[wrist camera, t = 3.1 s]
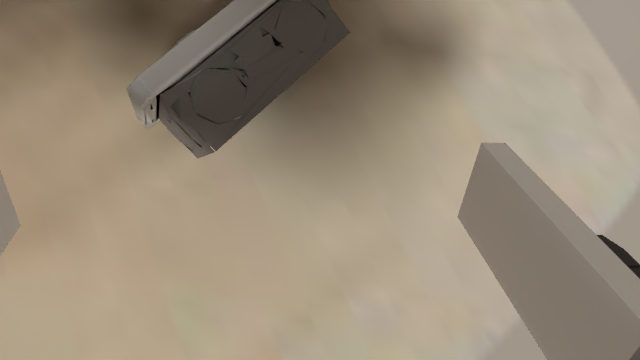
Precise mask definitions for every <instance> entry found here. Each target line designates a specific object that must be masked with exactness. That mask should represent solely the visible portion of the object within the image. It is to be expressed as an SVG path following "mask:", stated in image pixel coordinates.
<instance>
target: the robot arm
mask: <svg viewBox="0 0 640 360" xmlns="http://www.w3.org/2000/svg"><path fill="white" fill-rule="evenodd" d="M458 218H459V220H460V221H461V223H462V224H463V226H464V228H465V229H466V231H467V232H468V234H469V236H470V237H471V239H472V240H473V242H474V244H475V245H476V247H477V248H478V250H479V252H480V253H481V255H482V256H483V258H484V260H485V261H486V263H487V264H488V266H489V267H490V269H491V271H492V272H493V274H494V275H495V277H496V279H497V280H498V282H499V283H500V285H501V287H502V288H503V290H504V291H505V293H506V295H507V296H508V298H509V299H510V301H511V303H512V304H513V306H514V307H515V309H516V310H517V312H518V314H519V315H520V317H521V318H522V320H523V322H524V323H525V325H526V326H527V328H528V330H529V331H530V333H531V334H532V336H533V338H534V339H535V341H536V342H537V344H538V346H539V347H540V349H541V350H542V352H543V353H544V355H545V357H546V358H547V360H640V265H639V263H637V261H635V260H634V259H633V258H632V257H631V256H630V255H629V254H628V253H627V252H626V251H625V250H624V249H623V248H621V247H620V246H618V245H617V244H615V243H614V242H612V241H610V240H609V239H607V238H606V237H604V236H603V235H596V234H595V233H594V232H593V231H592V230H591V229H590V228H589V227H588V226H587V225H586V224H585V223H584V222H583V221H582V220H581V219H580V218H579V217H578V216H577V215H576V214H575V213H574V212H573V211H572V210H571V209H570V208H569V207H568V206H567V205H566V204H565V203H564V202H563V201H562V200H561V199H560V198H559V197H558V196H557V195H556V194H555V193H554V192H553V191H552V190H551V189H550V188H549V187H548V186H547V185H546V184H545V183H544V182H543V181H542V180H541V179H540V178H539V177H538V176H537V175H536V174H535V173H534V172H533V171H532V170H531V169H530V168H529V167H528V166H527V165H526V164H525V163H524V162H523V161H522V159H521V158H520V157H519V156H518V155H517V154H516V153H515V152H514V151H513V150H512V149H511V148H510V147H509V146H508V145H507V144H506V143H481V145H480V148H479V152H478V155H477V158H476V161H475V164H474V167H473V170H472V173H471V176H470V180H469V183H468V186H467V189H466V192H465V195H464V198H463V201H462V204H461V207H460V211H459V214H458ZM19 227H20V222H19V220H18V217H17V214H16V212H15V209H14V206H13V204H12V201H11V198H10V195H9V193H8V190H7V187H6V185H5V182H4V179H3V177H2V174H1V171H0V255H1V254H2V252H3V251H4V249H5V248H6V246H7V245H8V243H9V242H10V240H11V239H12V237H13V236H14V234H15V233H16V231H17V230H18V228H19Z"/></svg>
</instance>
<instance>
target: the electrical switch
mask: <svg viewBox="0 0 640 360" xmlns="http://www.w3.org/2000/svg"><path fill="white" fill-rule="evenodd" d="M348 33H350V32H349V31H348V29H347V28H346V27H345V25H344V24H343V23H342V22H341V20H340V19H339V18H338V16H337V15H336V14H335V12H334V11H333V10H332V8H331V6H330V4H329V2H328V0H234V1H233V2H231V3H230V4H229V5H228V6H226V7H225V8H224V9H222V10H221V11H220V12H219V13H217V14H216V15H215V16H214V17H212V18H211V19H210V20H208V21H207V22H206V23H205V24H203V25H202V26H201V27H199V28H198V29H194V30H192V31H191V32H189V33H188V34H187V35H185V36H184V37H182V38H181V39H179V40H178V41H177V42H176V43H175V44H174V46H173V47H172V48H171V50H170V51H169V52H168V53H166V54H165V55H164V56H163V57H161V58H160V59H159V60H157V61H156V62H155V63H154V64H152V65H151V66H150V67H148V68H147V69H146V70H145V71H143V72H142V73H141V74H140V75H138V76H137V77H136V79H135V80H134V81H133V82H132V83H131V84H130V86H129V87H128V88H127V91H128V94H129V97H130V99H131V102H132V105H133V107H134V110H135V113H136V116H137V118H138V119H139V120H140V121H141V122H142V123H143V125H144V126H145V127H146V128H149V127H152V126H154V125H155V124H156V123H157V122H159V121H160V120H161V121H162V122H163V124H164V125H165V126H166V127H167V128H168V129H169V130H170V131H171V133H172V134H173V135H174V136H175V137H176V138H177V139H178V140H179V141H180V142H182V143H183V144H184V145H185V146H186V147H187V148H188V149H189V150H190V151H191V152H192V153H193V154H194V155H195V156H196V157H197V158H200V157H202V156H205V155H208V154H211V153H213V152H214V151H213V150H212V149H211V147H212V148H213V149H214V150H215V151H217V150H218V149H219V148H220V147H221V146H222V145H223V144H224V143H226V142H227V141H228V140H229V139H230V138H231V137H232V136H233V135H235V134H236V133H237V132H238V131H239V130H240V129H241V128H242V127H244V126H245V125H246V124H247V123H248V122H249V121H250V120H252V119H253V118H254V117H255V116H256V115H257V114H258V113H259V112H261V111H262V110H263V109H264V108H265V107H266V106H267V105H268V104H270V103H271V102H272V101H273V100H274V99H275V98H276V97H277V96H279V95H280V94H281V93H282V92H283V91H284V90H285V89H286V88H288V87H289V86H290V85H291V84H292V83H293V82H294V81H295V80H297V79H298V78H299V77H300V76H301V75H302V74H303V73H304V72H306V71H307V70H308V69H309V68H310V67H311V66H312V65H314V64H315V63H316V62H317V61H318V60H319V59H320V58H321V57H323V56H324V55H325V54H326V53H327V52H328V51H329V50H330V49H332V48H333V47H334V46H335V45H336V44H337V43H338V42H339V41H341V40H342V39H343V38H344V37H345V36H346V35H347V34H348ZM241 82H242V83H243V84H245V86H246V87H247V88H246V87H245V86H244V85H243V84H242V83H241ZM210 145H211V147H210Z"/></svg>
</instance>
